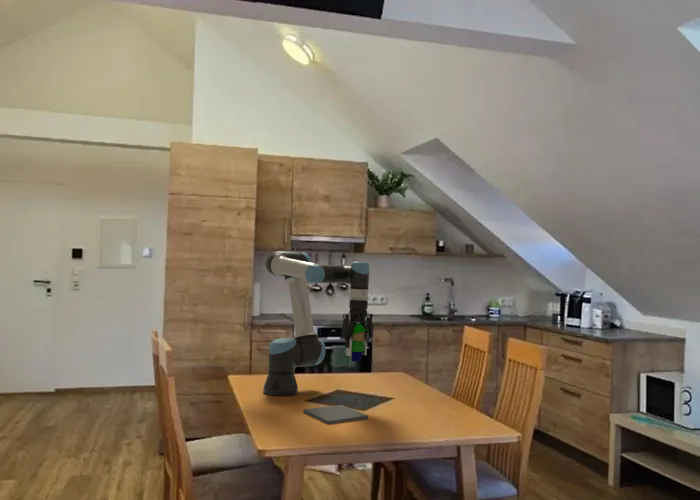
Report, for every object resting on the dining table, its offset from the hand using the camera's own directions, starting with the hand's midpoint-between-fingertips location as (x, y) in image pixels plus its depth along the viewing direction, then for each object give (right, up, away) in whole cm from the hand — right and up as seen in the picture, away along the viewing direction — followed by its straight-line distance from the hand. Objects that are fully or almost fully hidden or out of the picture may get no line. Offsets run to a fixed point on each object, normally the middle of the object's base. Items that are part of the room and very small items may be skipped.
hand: (356, 355), depth 249 cm
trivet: (-8, -20, -16) cm, 27 cm away
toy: (0, -2, 0) cm, 2 cm away
